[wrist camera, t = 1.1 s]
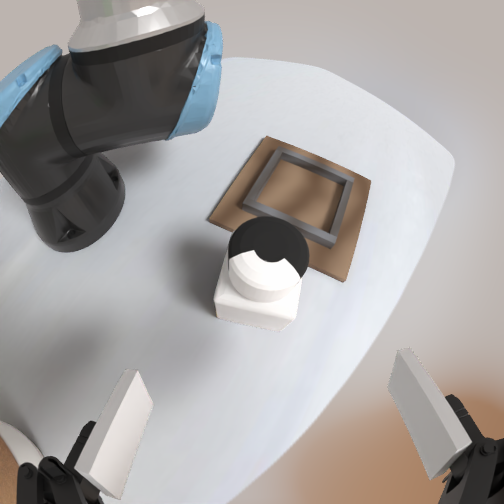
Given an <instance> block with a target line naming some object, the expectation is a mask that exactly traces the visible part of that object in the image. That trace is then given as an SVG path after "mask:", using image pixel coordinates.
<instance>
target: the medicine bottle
mask: <svg viewBox="0 0 504 504" xmlns="http://www.w3.org/2000/svg"><path fill="white" fill-rule="evenodd" d="M309 257H310V254H309V248H308V244H307V242H306V240H305V238H304V236H303V235H302V233H301V232H300V231H299V230H298V229H297V228H296V227H295V226H294V225H292V224H291V223H289V222H287V221H285V220H283V219H280V218H277V217H270V216H261V217H256V218H252V219H250V220H248V221H246V222H244V223H242V224H241V225H240V226H239V227H238V228H237V229H236V230H235V231H233V232H232V234H231V238H230V241H229V245H228V248H227V251H226V255H225V258H224V262H223V265H222V269H221V273H220V276H219V280H218V283H217V287H216V290H215V294H214V298H213V301H214V306H215V311H216V316H217V318H219V319H222V320H226V321H230V322H235V323H239V324H243V325H247V326H252V327H256V328H261V329H266V330H270V331H275V332H280V331H282V330H283V329H284V328H285V327H286V326H287V325H289V324H290V323H291V322H292V321H293V320H294V319H295V318H296V314H297V308H298V302H299V296H300V290H301V283H302V277H303V275H304V273H305V272H306V270H307V267H308V264H309Z"/></svg>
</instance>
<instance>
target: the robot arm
mask: <svg viewBox="0 0 504 504" xmlns="http://www.w3.org/2000/svg"><path fill="white" fill-rule="evenodd" d="M77 4H78V8H79V14H80V18H81V20H80V24H79V26H78V27H77V28H76V30H75V32H74V33H73V35H72V37H71V38H70V40H69V42H68V48H69V52H70V53H69V54H67V55H64V56H62V49H60V48H59V46H57V45H52V46H49V47H46V48H44V49H43V50H41V51H39V52H37V53H36V54H34V55H33V56H31V57H30V58H28V59H27V60H25V61H24V62H23V63H21V64H20V65H19V66H18V67H16V68H15V69H14V70H13V71H12V72H10V73H9V74H8V75H7V76H6V77H5V78H4V79H3V80H2V81H1V82H0V172H1V174H2V175H3V176H4V177H5V179H6V180H7V181H8V182H9V184H10V185H11V186H12V187H13V189H14V190H15V191H16V192H17V193H18V195H19V196H20V197H21V198H22V199H23V201H24V202H25V203H26V205H27V208H28V211H29V214H30V217H31V219H32V222H33V225H34V227H35V230H36V232H37V234H38V235H39V237H40V238H41V239H42V240H43V241H44V242H45V243H46V244H47V245H48V246H49V247H50V248H52V249H54V250H56V251H59V252H74V251H78V250H81V249H83V248H85V247H87V246H89V245H91V244H93V243H94V242H96V241H97V240H98V239H99V238H101V237H102V236H103V235H104V234H105V233H106V232H107V231H108V230H109V229H110V228H111V226H112V225H113V224H114V222H115V221H116V219H117V218H118V216H119V214H120V212H121V209H122V207H123V204H124V199H125V186H124V182H123V180H122V177H121V175H120V173H119V171H118V169H117V168H116V166H115V165H114V164H113V163H112V162H111V161H110V160H108V159H107V158H106V157H105V156H104V155H103V154H102V153H101V152H104V151H108V150H112V149H117V148H121V147H126V146H131V145H136V144H141V143H147V142H153V141H158V140H169V139H172V138H174V137H177V136H182V135H187V134H193V133H197V132H199V131H201V130H202V129H204V128H206V127H207V126H208V124H209V123H210V121H211V120H212V117H213V115H214V112H215V108H216V104H217V99H218V94H219V87H220V80H221V68H222V67H221V63H220V62H221V58H222V49H223V40H222V33H221V29H220V26H219V25H218V24H216V23H212V22H210V21H206V22H204V18H205V16H204V14H205V9H204V7H203V6H202V5H201V4H199V3H198V2H197V1H195V0H77ZM388 390H389V392H390V394H391V396H392V398H393V400H394V402H395V404H396V406H397V408H398V410H399V412H400V414H401V416H402V418H403V420H404V422H405V425H406V427H407V429H408V431H409V433H410V435H411V437H412V440H413V442H414V444H415V446H416V449H417V451H418V453H419V455H420V458H421V460H422V463H423V465H424V467H425V470H426V472H427V474H428V477H429V479H430V480H431V479H434V478H436V477H438V476H440V475H442V474H444V473H445V472H446V471H447V470H448V468H450V470H451V472H450V473H449V474H448V475H447V476H446V477H445V478H444V480H443V481H442V482H443V483H444V482H445V481H446V480H447V479H448V480H447V483H446V485H445V488H444V491H443V493H442V496H441V498H440V500H439V503H438V504H504V438H503V439H500V440H494V439H491V438H485V437H484V436H483V435H482V434H481V432H480V430H479V429H478V427H477V426H476V424H475V422H474V421H473V419H472V418H471V416H470V415H468V412H467V410H466V409H465V408H464V406H463V404H462V403H461V401H460V400H459V399H458V398H457V397H455V396H454V395H452V394H451V395H448V396H446V397H444V396H443V394H442V393H441V391H440V390H439V388H438V387H437V385H436V384H435V382H434V381H433V379H432V378H431V376H430V375H429V373H428V372H427V370H426V369H425V368H424V366H423V365H422V363H421V362H420V360H419V359H418V358H417V356H416V355H415V354H414V352H413V351H412V349H411V348H410V347H409V348H405V349H401V350H398V351H397V355H396V359H395V362H394V367H393V370H392V373H391V377H390V380H389V383H388ZM153 405H154V404H153V402H152V400H151V398H150V396H149V393H148V391H147V389H146V387H145V385H144V383H143V380H142V378H141V376H140V374H139V371H138V370H131V369H125V371H124V372H123V374H122V376H121V378H120V380H119V381H118V383H117V385H116V387H115V389H114V391H113V392H112V394H111V396H110V398H109V400H108V402H107V403H106V405H105V407H104V409H103V411H102V413H101V415H100V417H99V419H98V421H97V422H94V421H89V422H88V423H87V424H86V425H85V426H84V427H83V429H82V430H81V432H80V434H79V436H78V438H77V440H76V443H75V444H74V446H73V448H72V450H71V451H70V453H69V455H68V457H67V459H66V461H65V463H64V465H63V464H62V463H61V462H60V461H59V460H58V459H57V458H56V457H53V456H47V457H45V458H43V459H42V460H41V461H40V463H39V465H38V468H37V467H36V466H34V465H33V464H32V463H29V462H25V463H23V464H21V465H20V467H19V468H18V473H17V494H16V504H104V503H103V501H102V498H101V497H100V496H99V493H100V491H101V492H103V493H104V494H105V495H106V496H109V497H112V498H115V499H119V500H121V497H122V494H123V491H124V488H125V485H126V482H127V479H128V476H129V473H130V470H131V467H132V464H133V461H134V458H135V455H136V452H137V449H138V447H139V444H140V441H141V438H142V435H143V433H144V430H145V427H146V424H147V422H148V419H149V416H150V413H151V411H152V408H153Z"/></svg>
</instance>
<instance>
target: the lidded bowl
mask: <svg viewBox="0 0 504 504" xmlns="http://www.w3.org/2000/svg"><path fill="white" fill-rule="evenodd" d="M43 458H44V457H43V455H42V453H41V452H40V450H39V449H38V448H37V446H36V445H35V444H34V443H33V442H32V441H31V440H29V439H28V438H27V437H26V436H25V435H24V434H23V433H22V432H20V431H19V430H18V429H16V428H15V427H13V426H11V425H9V424H7V423H5V422H2V421H0V504H16V494H17V473H18V468H19V467H20V465H21V464H23V463H25V462H29V463H32V464H33V465H34V466H36V467H37V468H38V465H39V463H40V461H41V460H42V459H43Z"/></svg>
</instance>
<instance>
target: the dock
mask: <svg viewBox="0 0 504 504" xmlns="http://www.w3.org/2000/svg"><path fill="white" fill-rule="evenodd" d="M370 185H371V180H369V179H367V178H365V177H363V176H361V175H359V174H357V173H355V172H353V171H351V170H348V169H346V168H344V167H342V166H340V165H338V164H335V163H333V162H331V161H329V160H326V159H324V158H322V157H320V156H317V155H315V154H312V153H310V152H308V151H305V150H303V149H300V148H298V147H295V146H293V145H290V144H287V143H285V142H282V141H280V140H277V139H274V138H271V137H269V136H266V137H265V138H264V140H263V141H262V143H261V144H260V145H259V147H258V148H257V150H256V151H255V152H254V154H253V155H252V156H251V158H250V159H249V161H248V162H247V164H246V165H245V166H244V168H243V169H242V171H241V172H240V174H239V175H238V176H237V178H236V179H235V181H234V182H233V184H232V185H231V187H230V188H229V190H228V191H227V193H226V194H225V196H224V197H223V198H222V200H221V201H220V203H219V204H218V206H217V207H216V209H215V211H214V212H213V214H212V215H211V217H210V218H209V222H210V223H212V224H215V225H217V226H219V227H221V228H224V229H226V230H228V231H230V232H233V231H235V230H236V229H237V228H238V227H239V226H240V225H241V224H242V223H244V222H246V221H248V220H250V219H252V218H256V217H261V216H270V217H277V218H280V219H283V220H285V221H287V222H289V223H291V224H292V225H294V226H295V227H296V228H297V229H298V230H299V231H300V232H301V233H302V235H303V236H304V238H305V240H306V242H307V244H308V248H309V254H310V257H309V264H308V267H311V268H313V269H315V270H317V271H319V272H322V273H324V274H326V275H328V276H330V277H332V278H335V279H337V280H339V281H341V282H344V281H346V278H347V275H348V272H349V268H350V265H351V262H352V258H353V254H354V251H355V247H356V244H357V240H358V236H359V232H360V228H361V224H362V220H363V216H364V212H365V208H366V203H367V199H368V194H369V190H370Z"/></svg>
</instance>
